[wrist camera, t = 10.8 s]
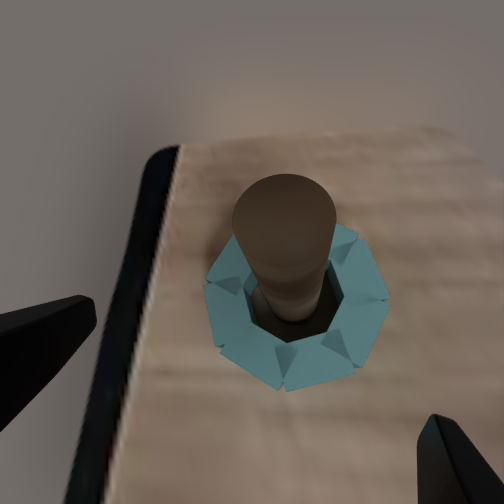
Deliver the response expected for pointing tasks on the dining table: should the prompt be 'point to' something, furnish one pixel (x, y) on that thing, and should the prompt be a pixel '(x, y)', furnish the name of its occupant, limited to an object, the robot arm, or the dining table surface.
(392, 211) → the dining table surface
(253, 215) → the brown post
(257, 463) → the dining table surface
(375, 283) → the bead
